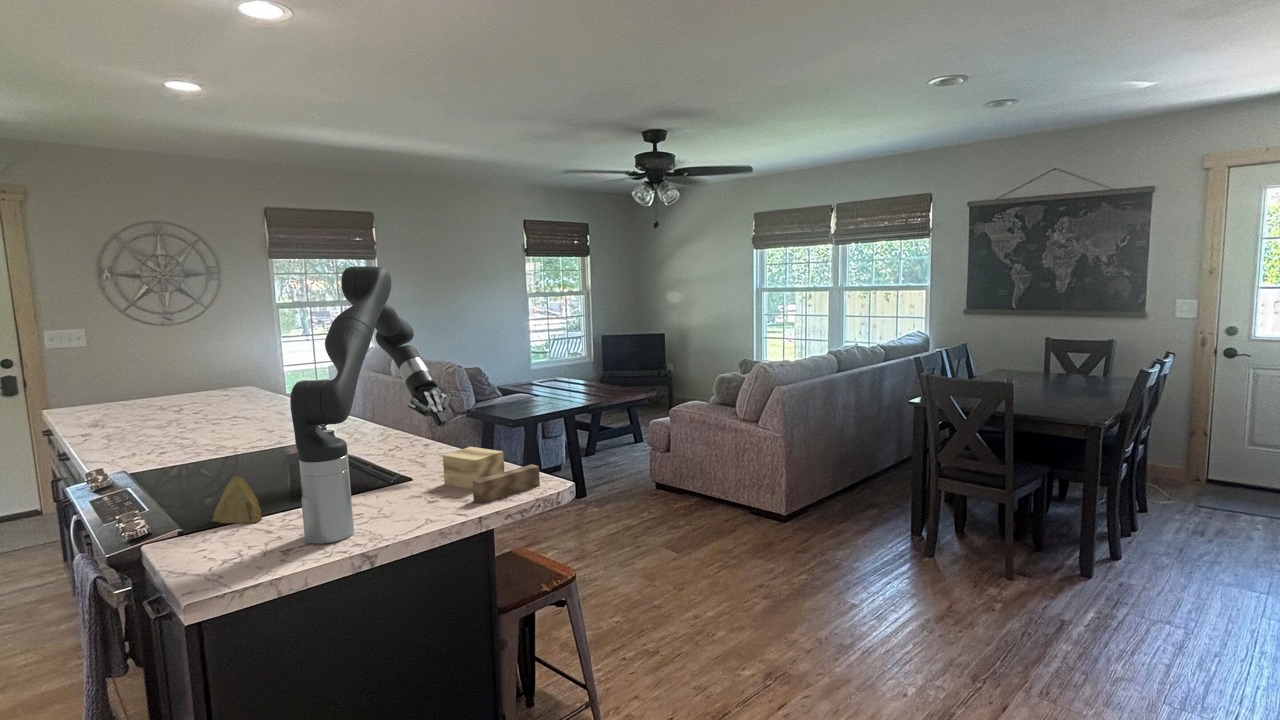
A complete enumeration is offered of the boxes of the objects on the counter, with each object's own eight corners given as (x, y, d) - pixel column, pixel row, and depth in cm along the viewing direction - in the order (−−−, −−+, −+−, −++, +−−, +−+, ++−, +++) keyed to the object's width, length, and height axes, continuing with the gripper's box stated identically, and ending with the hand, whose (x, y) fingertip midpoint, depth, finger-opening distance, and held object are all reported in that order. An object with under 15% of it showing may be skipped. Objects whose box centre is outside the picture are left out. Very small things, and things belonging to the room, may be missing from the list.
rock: (276, 508, 154) (262, 494, 161) (249, 486, 149) (236, 472, 156) (235, 546, 149) (222, 529, 156) (206, 524, 144) (194, 507, 151)
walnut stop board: (480, 503, 161) (479, 483, 160) (473, 500, 163) (472, 480, 162) (539, 485, 174) (539, 466, 173) (532, 482, 176) (531, 464, 175)
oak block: (477, 491, 171) (475, 460, 170) (444, 484, 177) (442, 455, 176) (504, 480, 179) (503, 451, 178) (472, 474, 186) (471, 446, 185)
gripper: (399, 371, 186) (425, 420, 179) (442, 366, 196) (468, 412, 189) (391, 389, 190) (416, 437, 183) (433, 382, 200) (459, 428, 193)
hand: (443, 424), depth 186 cm, fingers closed
